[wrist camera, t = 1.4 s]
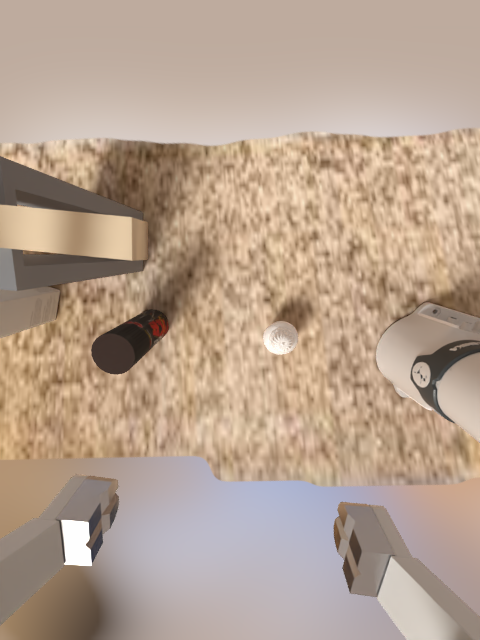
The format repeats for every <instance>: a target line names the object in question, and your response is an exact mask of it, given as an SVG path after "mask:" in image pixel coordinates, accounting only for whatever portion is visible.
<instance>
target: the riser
mask: <svg viewBox="0 0 480 640" xmlns="http://www.w3.org/2000/svg"><path fill="white" fill-rule="evenodd" d="M17 204H18V205H23V206H27V207H32V208H41V209H52V210H62V211H72V212H83V213H93V214H103V215H114V216H124V217H133V218H136V219H139V220H142V221H143V212H141V211H138V210H135V209H133V208H130V207H128V206H125V205H123V204H120V203H118V202H115V201H113V200H110V199H108V198H105V197H102V196H100V195H97V194H95V193H92V192H90V191H87V190H85V189H82V188H80V187H77V186H74V185H72V184H69V183H67V182H64V181H62V180H59V179H57V178H54V177H52V176H49V175H46V174H44V173H41V172H39V171H36V170H34V169H31V168H29V167H26V166H24V165H21V164H19V163H16V162H13V161H11V160H8V159H6V158H3V157H1V156H0V205H10V206H17ZM140 271H143V260H134V261H131V260H121V259H111V258H100V257H90V256H80V255H70V254H62V255H23V250H19V249H9V248H0V289H1V290H11V291H21V290H27V289H33V288H40V287H46V286H52V285H58V284H65V283H71V282H77V281H84V280H90V279H96V278H102V277H109V276H115V275H121V274H128V273H134V272H140Z"/></svg>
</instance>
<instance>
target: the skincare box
mask: <svg viewBox="0 0 480 640" xmlns="http://www.w3.org/2000/svg"><path fill="white" fill-rule="evenodd" d="M59 296H60V290H58V289H55V288H51V287H48V286H46V287H40V288H33V289H27V290H21V291H11V290H1V289H0V338H3V337H6V336H9V335H12V334H15V333H18V332H21V331H24V330H27V329H30V328H33V327H36V326H39V325H42V324H45V323H48V322H51V321H54V320H56V314H57V308H58V302H59Z"/></svg>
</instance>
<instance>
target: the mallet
mask: <svg viewBox="0 0 480 640" xmlns="http://www.w3.org/2000/svg"><path fill="white" fill-rule="evenodd" d="M0 248H9V249H19V250H29V251H39V252H49V253H60V254H70V255H80V256H90V257H100V258H111V259H121V260H131V261H134V260H148V222H145V221H142V220H139V219H136V218H133V217H124V216H114V215H103V214H93V213H83V212H72V211H62V210H52V209H41V208H31V207H20V206H10V205H0Z"/></svg>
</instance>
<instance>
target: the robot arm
mask: <svg viewBox="0 0 480 640" xmlns="http://www.w3.org/2000/svg"><path fill="white" fill-rule="evenodd" d="M433 310H435V312H434V313H433ZM376 361H377V365H378V368H379V370H380V371H381V373H382V374H383V375H384V376H385V377H386V378H387V379H388V380H389V381H391V382H392V383H393V385H394V388H395V390H396V392H397V393H398V394H399V395H400V396H402V397H410V398H412V399H413V400H415V401H416V402H417V403H419V404H420V405H422V406H423V407H424V408H426V409H428V410H432V409H433V410H434V411H435V412H436V413H438V414H439V415H441V416H443V417H444V418H445V419H447V420H449V421H451V422H453V423H456V424H457V425H458V426H460V427H461V428H462V429H463V430H465V431H466V432H467V433H468V434H469V435H471V436H472V437H473V438H474V439H476V440H477V441H478V442H479V443H480V318H479V317H475V316H472V315H469V314H466V313H462V312H459V311H456V310H453V309H449V308H446V307H443V306H440V305H436V304H433V303H430V302H426V303H423V304H422V305H420V306H419V307H418V308H417V309H416V310H415V311H414V312H413V313H412V314H410V315H409V316H407V317H404V318H402V319H400V320H398V321H397V322H395V323H394V324H393V325H391V326H390V327H389V328H388V329H387V330H386V331H385V333H384V334H383V335H382V337H381V339H380V341H379V343H378V346H377V350H376ZM117 489H118V480H116V479H111V478H103V477H95V476H87V475H79V474H76V475H74V476H73V477H71V478H70V480H69V481H68V482H67V483H66V484H65V486H64V487H63V488H62V489H61V491H60V492H59V493H58V494H57V496H56V497H55V498H54V499H53V501H52V502H51V503H50V504H49V506H48V507H47V508H46V509H45V511H44V512H43V513H42V514H41V516H40V517H39V518H33V519H32V520H30V521H28V522H27V523H25V524H24V525H22V526H20V527H19V528H17V529H16V530H14V531H12V532H11V533H9V534H8V535H6V536H4V537H3V538H1V539H0V625H2V624H3V623H4V622H5V621H6V620H7V619H8V618H9V617H10V616H11V615H12V614H13V613H14V612H15V611H16V610H18V609H19V608H20V607H21V606H22V605H23V604H24V603H25V602H26V601H27V600H28V599H29V598H30V597H32V596H33V595H34V594H35V593H36V592H37V591H38V590H39V589H40V588H41V587H42V586H43V585H44V584H45V583H46V582H48V581H49V580H50V579H51V578H52V577H53V576H54V575H55V574H56V573H57V572H58V571H59V570H60V569H61V568H62V567H64V564H75V565H90V566H91V565H92V563H93V561H94V559H95V557H96V555H97V553H98V551H99V549H100V548H101V546H102V544H103V534H104V533H105V532H106V531H107V530H109V529H110V528H111V526H112V523H113V522H114V519H115V517H116V513H117V510H118V505H119V496H118V495H117V494H116V493H115V492H116V490H117ZM338 513H339V517H337V518H336V519H335V522H334V540H335V544H336V548H337V552H338V553H339V555H340V556H341V557H342V558H343V559H344V564H343V568H342V569H343V572H344V575H345V578H346V582H347V585H348V588H349V592H350V593H351V594H358V595H365V596H372V597H377V600H378V601H379V603H380V604H381V605H382V607H383V608H384V609H385V611H386V612H387V614H388V615H389V616H390V618H391V619H392V620H393V622H394V623H395V624H396V626H397V627H398V629H399V630H400V631H401V633H402V634H403V635H404V637H405V638H406V639H407V640H480V616H478V615H477V614H476V613H475V612H474V611H473V610H472V609H471V608H470V607H469V606H468V605H467V604H466V603H465V602H463V601H462V600H461V599H460V598H459V597H458V596H457V595H456V594H455V593H454V592H453V591H452V590H451V589H450V588H448V587H447V586H446V585H445V584H444V583H443V582H442V581H441V580H440V579H439V578H438V577H437V576H436V575H434V574H433V573H432V572H431V571H430V570H429V569H428V568H427V567H426V566H425V565H424V564H423V563H422V562H421V561H419V560H418V559H416V558H413V557H412V556H411V554H410V552H409V550H408V548H407V547H406V545H405V543H404V541H403V539H402V537H401V535H400V534H399V532H398V530H397V528H396V526H395V525H394V523H393V521H392V519H391V518H390V515H389V514H388V512H387V510H386V509H385V508H384V507H383V506H377V505H367V504H358V503H347V502H340V504H339V505H338Z"/></svg>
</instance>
